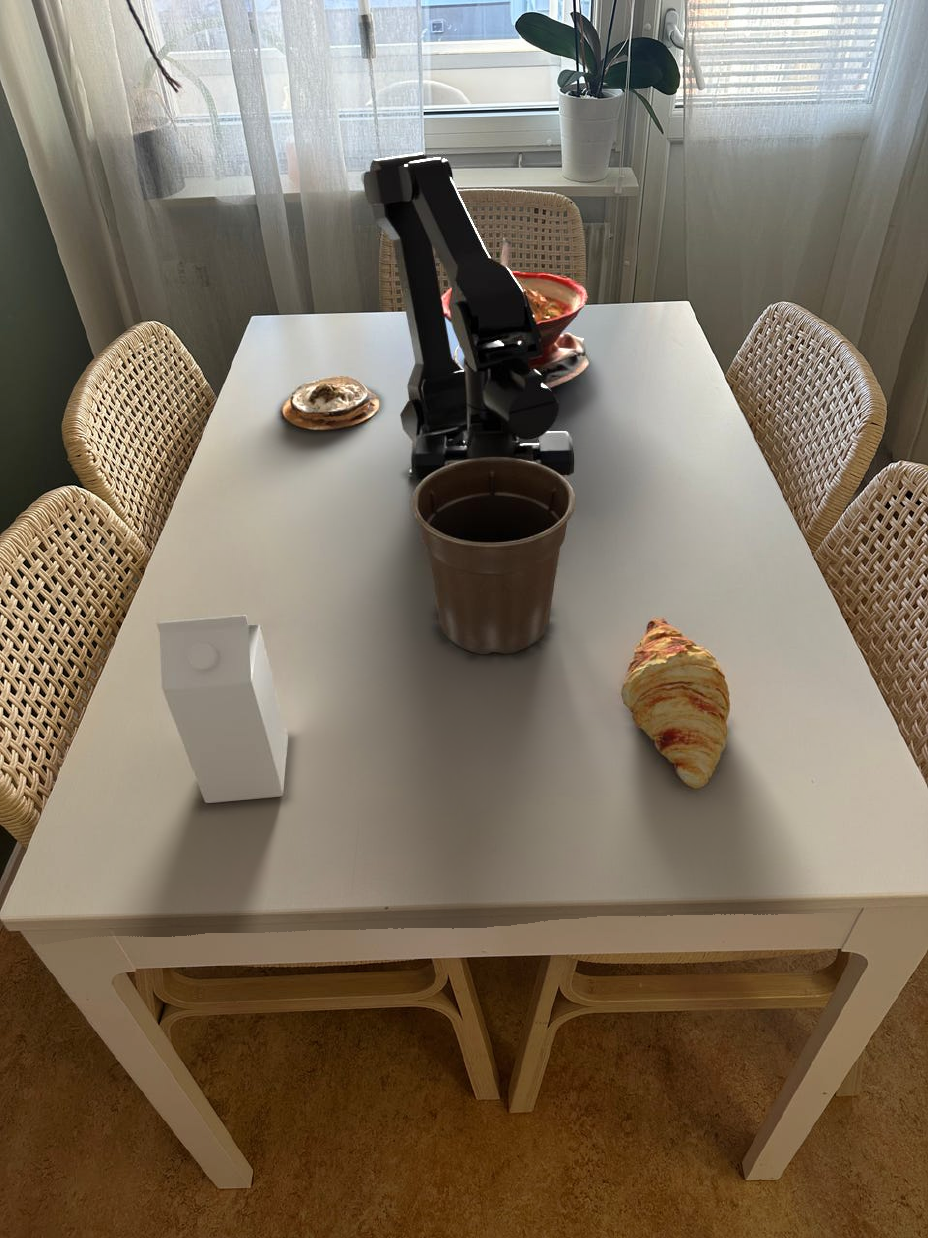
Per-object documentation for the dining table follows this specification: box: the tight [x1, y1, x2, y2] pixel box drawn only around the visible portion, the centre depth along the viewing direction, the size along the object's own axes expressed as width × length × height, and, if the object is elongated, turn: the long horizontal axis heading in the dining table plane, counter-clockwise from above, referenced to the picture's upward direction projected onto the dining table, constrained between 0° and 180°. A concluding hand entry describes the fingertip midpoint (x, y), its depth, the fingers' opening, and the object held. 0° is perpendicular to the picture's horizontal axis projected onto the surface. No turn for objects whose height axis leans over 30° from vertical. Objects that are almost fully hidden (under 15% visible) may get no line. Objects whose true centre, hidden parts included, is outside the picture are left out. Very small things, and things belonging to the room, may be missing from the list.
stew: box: [441, 238, 590, 389], centre depth 140 cm, size 28×24×16 cm
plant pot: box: [411, 457, 576, 656], centre depth 92 cm, size 16×16×16 cm
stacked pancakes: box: [282, 375, 380, 431], centre depth 135 cm, size 15×15×4 cm
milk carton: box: [156, 614, 289, 804], centre depth 76 cm, size 7×7×19 cm
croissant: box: [620, 617, 731, 789], centre depth 84 cm, size 21×10×8 cm, turn 2°
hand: (493, 515), depth 108 cm, fingers open, 9 cm apart
